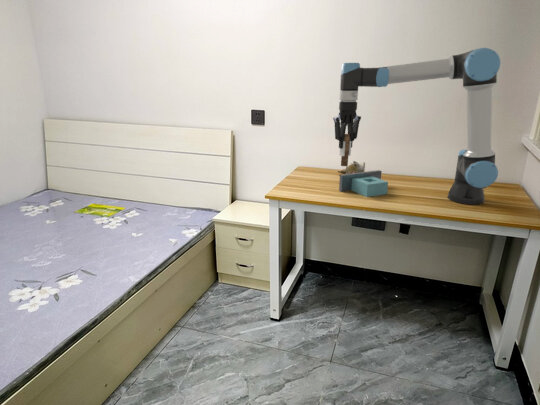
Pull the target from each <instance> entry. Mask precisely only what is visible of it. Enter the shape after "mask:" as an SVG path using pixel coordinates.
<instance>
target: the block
mask: <svg viewBox="0 0 540 405" xmlns="http://www.w3.org/2000/svg"><path fill="white" fill-rule="evenodd" d="M388 185H389V182H388V181H387V180H384V179H382V178H381V179H379V178H376V177H373V176H369V177H361V178H353V179H352V189H351V190H350V191H352V192H354V193H357V194H359V195H361V196H363V197H365V198H369V197H377V196H383V195H387V194H388V187H389V186H388Z"/></svg>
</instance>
